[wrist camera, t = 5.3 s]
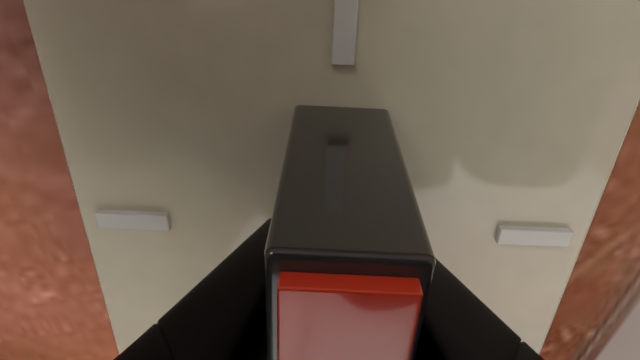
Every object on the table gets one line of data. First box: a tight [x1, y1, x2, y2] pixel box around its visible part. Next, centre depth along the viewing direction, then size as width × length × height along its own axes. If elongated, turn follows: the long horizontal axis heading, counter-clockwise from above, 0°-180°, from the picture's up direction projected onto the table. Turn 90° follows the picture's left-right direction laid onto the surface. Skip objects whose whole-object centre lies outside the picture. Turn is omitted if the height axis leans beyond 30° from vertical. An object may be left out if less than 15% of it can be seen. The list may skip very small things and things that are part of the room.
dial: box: [264, 105, 436, 360], centre depth 7 cm, size 5×2×4 cm, turn 177°
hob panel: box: [23, 0, 640, 354], centre depth 10 cm, size 10×12×3 cm
